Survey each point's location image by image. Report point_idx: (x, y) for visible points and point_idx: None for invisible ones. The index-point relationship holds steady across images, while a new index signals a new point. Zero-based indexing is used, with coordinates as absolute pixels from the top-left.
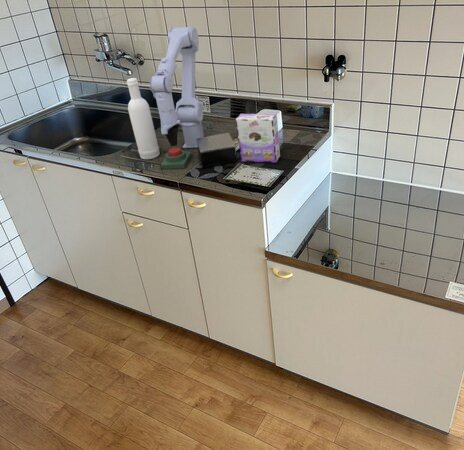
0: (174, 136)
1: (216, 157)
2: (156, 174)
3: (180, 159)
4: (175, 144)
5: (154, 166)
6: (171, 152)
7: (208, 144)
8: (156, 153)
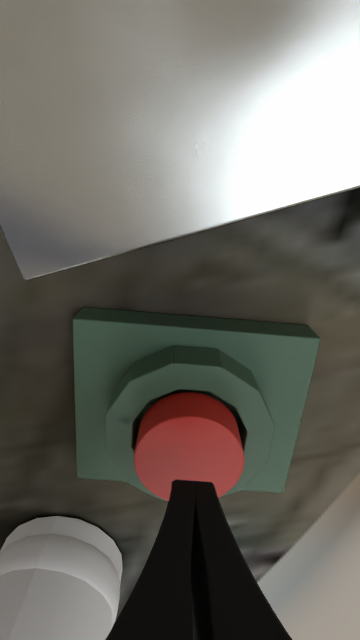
0: (269, 614)
1: None
2: (343, 482)
3: (254, 379)
4: (217, 497)
5: (225, 510)
6: (236, 479)
7: (299, 14)
8: (82, 541)
